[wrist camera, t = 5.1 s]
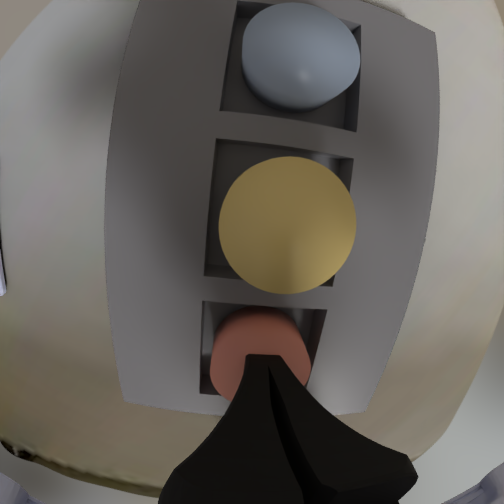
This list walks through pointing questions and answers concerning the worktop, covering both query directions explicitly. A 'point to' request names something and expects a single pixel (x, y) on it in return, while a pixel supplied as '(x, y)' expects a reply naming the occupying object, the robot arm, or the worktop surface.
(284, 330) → the brick button
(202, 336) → the panel
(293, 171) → the ochre button
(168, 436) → the worktop surface
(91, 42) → the worktop surface
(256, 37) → the slate button
